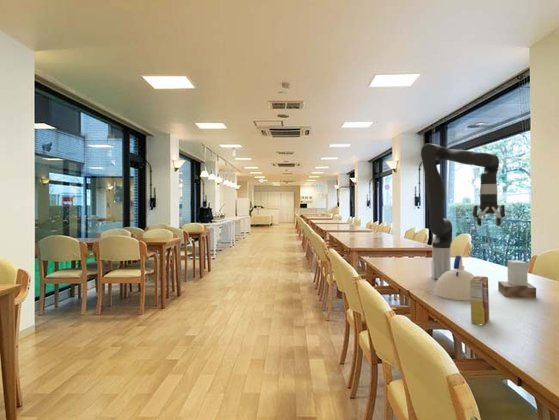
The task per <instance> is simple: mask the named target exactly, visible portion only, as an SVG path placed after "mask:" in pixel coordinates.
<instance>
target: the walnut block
mask: <svg viewBox="0 0 559 420" xmlns="http://www.w3.org/2000/svg"><path fill="white" fill-rule="evenodd" d="M497 282H498V290H497V291H498V292H499V293H500V294H501V296H503V297H505V298H518V299H519V298H521V299H537V288H536V287H535V286H534V285H533V284H531V283H529V282H528V286H513V285H511V284H510V283H508V281H504V280H503V281H501V280H500V281H497Z"/></svg>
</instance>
